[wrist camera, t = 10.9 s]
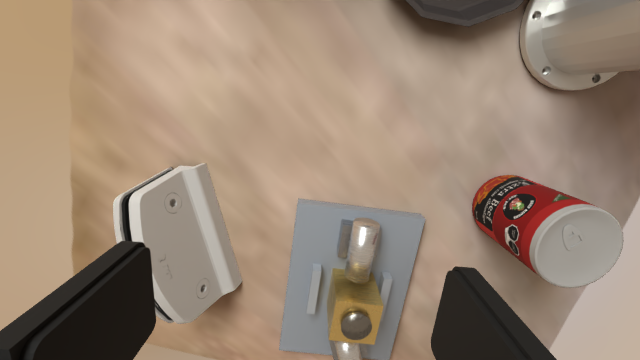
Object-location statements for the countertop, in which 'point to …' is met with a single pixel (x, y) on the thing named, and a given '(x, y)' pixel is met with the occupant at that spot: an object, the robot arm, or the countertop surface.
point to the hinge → (180, 240)
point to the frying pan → (463, 10)
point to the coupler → (353, 309)
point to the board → (321, 257)
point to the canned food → (549, 230)
